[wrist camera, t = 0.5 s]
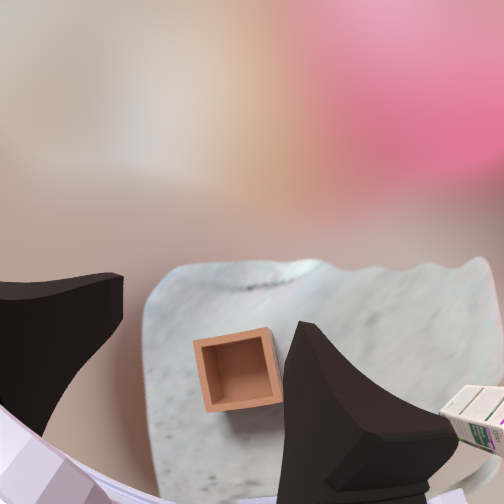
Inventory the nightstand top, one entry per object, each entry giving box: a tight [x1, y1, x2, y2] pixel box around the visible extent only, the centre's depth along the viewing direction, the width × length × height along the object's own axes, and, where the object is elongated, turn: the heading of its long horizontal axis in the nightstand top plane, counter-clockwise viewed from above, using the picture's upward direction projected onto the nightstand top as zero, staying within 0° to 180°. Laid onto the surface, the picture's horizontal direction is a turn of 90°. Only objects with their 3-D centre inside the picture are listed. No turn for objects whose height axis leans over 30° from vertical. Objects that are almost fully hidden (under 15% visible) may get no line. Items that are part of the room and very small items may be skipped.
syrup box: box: [439, 385, 504, 457], centre depth 18 cm, size 6×6×14 cm
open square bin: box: [193, 327, 283, 413], centre depth 29 cm, size 8×8×6 cm
